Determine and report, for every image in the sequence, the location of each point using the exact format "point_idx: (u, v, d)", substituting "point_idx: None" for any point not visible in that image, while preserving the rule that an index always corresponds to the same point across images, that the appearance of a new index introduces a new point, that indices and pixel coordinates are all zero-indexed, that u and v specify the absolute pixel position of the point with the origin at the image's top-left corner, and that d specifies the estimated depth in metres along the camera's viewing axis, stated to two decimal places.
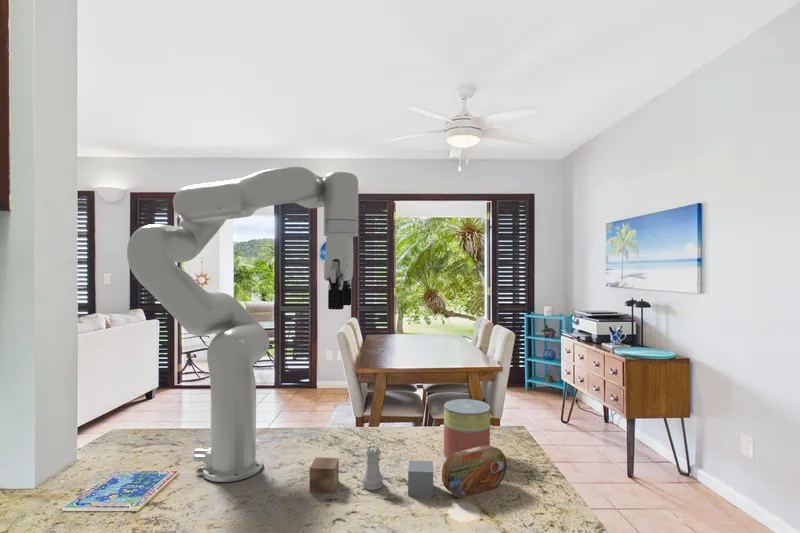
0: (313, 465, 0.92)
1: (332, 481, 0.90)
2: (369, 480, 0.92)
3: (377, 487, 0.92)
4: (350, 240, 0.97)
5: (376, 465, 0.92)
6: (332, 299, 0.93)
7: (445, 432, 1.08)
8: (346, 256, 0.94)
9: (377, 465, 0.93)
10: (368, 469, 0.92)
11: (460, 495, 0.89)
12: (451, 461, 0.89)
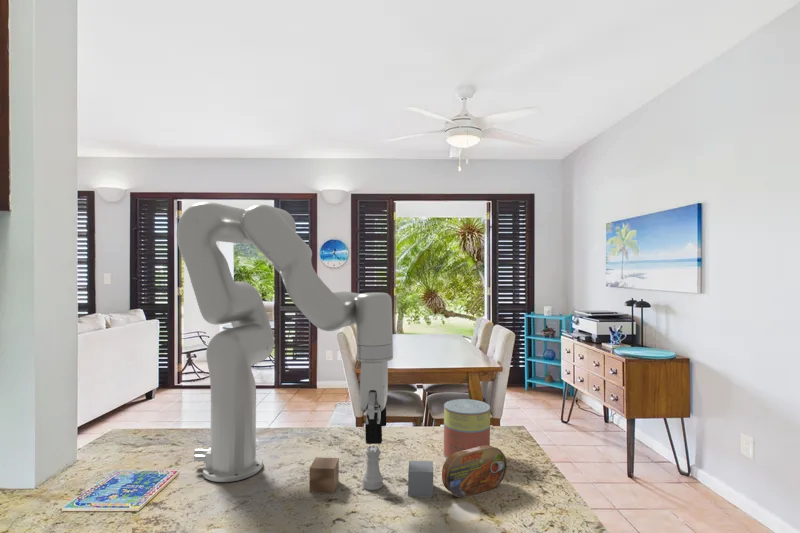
0: (313, 465, 0.92)
1: (332, 481, 0.90)
2: (369, 480, 0.92)
3: (377, 487, 0.92)
4: (386, 365, 0.91)
5: (376, 465, 0.92)
6: (370, 434, 0.87)
7: (445, 432, 1.08)
8: (383, 385, 0.89)
9: (377, 465, 0.93)
10: (368, 469, 0.92)
11: (460, 495, 0.89)
12: (451, 461, 0.89)
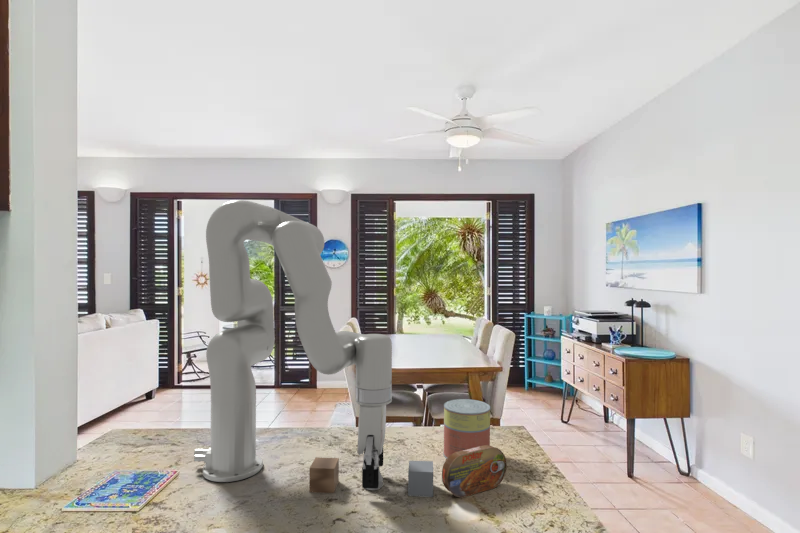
0: (313, 465, 0.92)
1: (332, 481, 0.90)
2: None
3: None
4: (384, 408, 0.91)
5: None
6: (367, 479, 0.88)
7: (445, 432, 1.08)
8: (381, 430, 0.89)
9: (377, 465, 0.93)
10: None
11: (460, 495, 0.89)
12: (451, 461, 0.89)
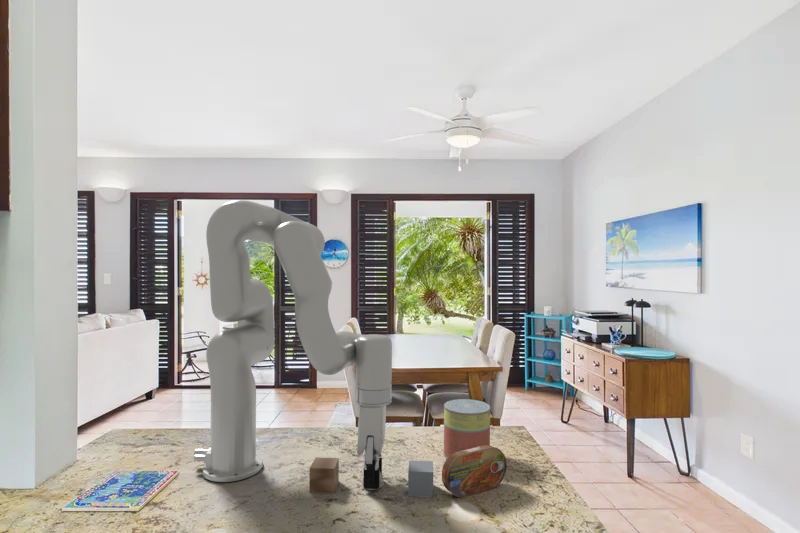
0: (313, 465, 0.92)
1: (332, 481, 0.90)
2: None
3: None
4: (384, 409, 0.92)
5: None
6: (368, 479, 0.90)
7: (445, 432, 1.08)
8: (380, 431, 0.89)
9: None
10: None
11: (460, 495, 0.89)
12: (451, 461, 0.89)
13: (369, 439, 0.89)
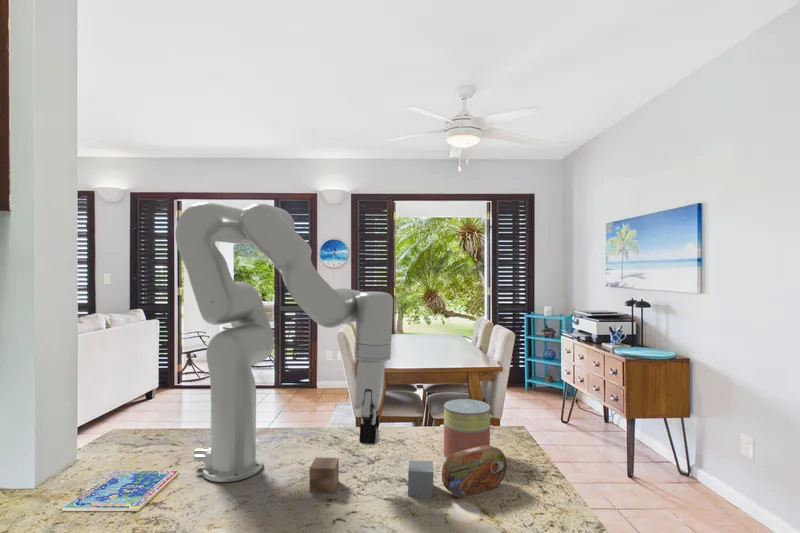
0: (313, 465, 0.92)
1: (332, 481, 0.90)
2: None
3: None
4: (383, 365, 0.92)
5: None
6: (364, 434, 0.90)
7: (445, 432, 1.08)
8: (379, 385, 0.89)
9: None
10: None
11: (460, 495, 0.89)
12: (451, 461, 0.89)
13: (367, 393, 0.89)
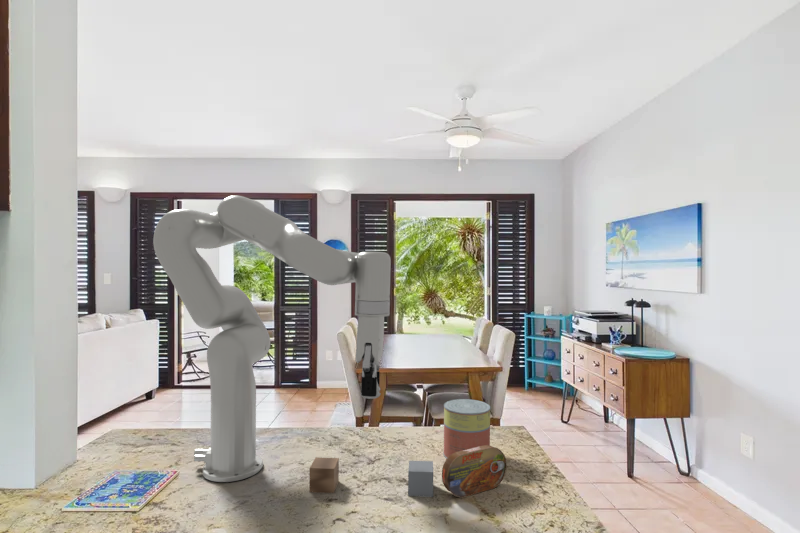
0: (313, 465, 0.92)
1: (332, 481, 0.90)
2: None
3: None
4: (382, 321, 0.95)
5: None
6: (365, 386, 0.94)
7: (445, 432, 1.08)
8: (378, 339, 0.93)
9: None
10: None
11: (460, 495, 0.89)
12: (451, 461, 0.89)
13: (367, 347, 0.92)
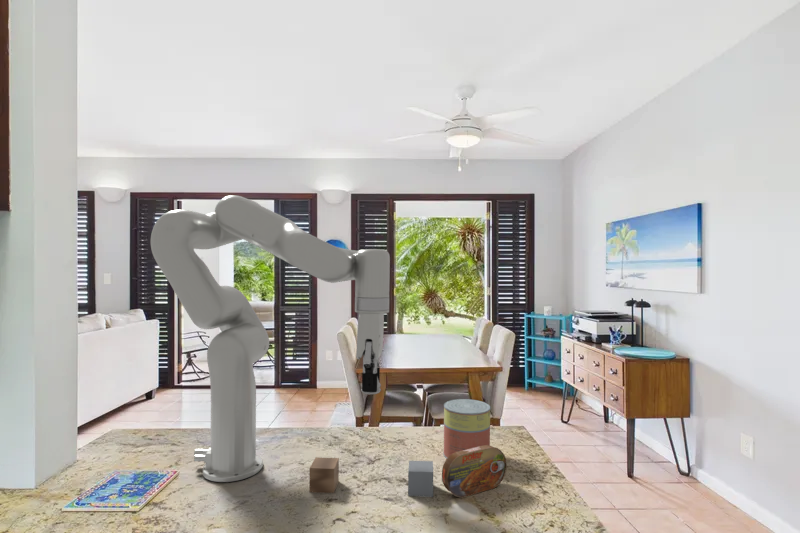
0: (313, 465, 0.92)
1: (332, 481, 0.90)
2: None
3: None
4: (382, 317, 0.97)
5: None
6: (366, 382, 0.95)
7: (445, 432, 1.08)
8: (378, 335, 0.94)
9: None
10: None
11: (460, 495, 0.89)
12: (451, 461, 0.89)
13: (367, 343, 0.94)
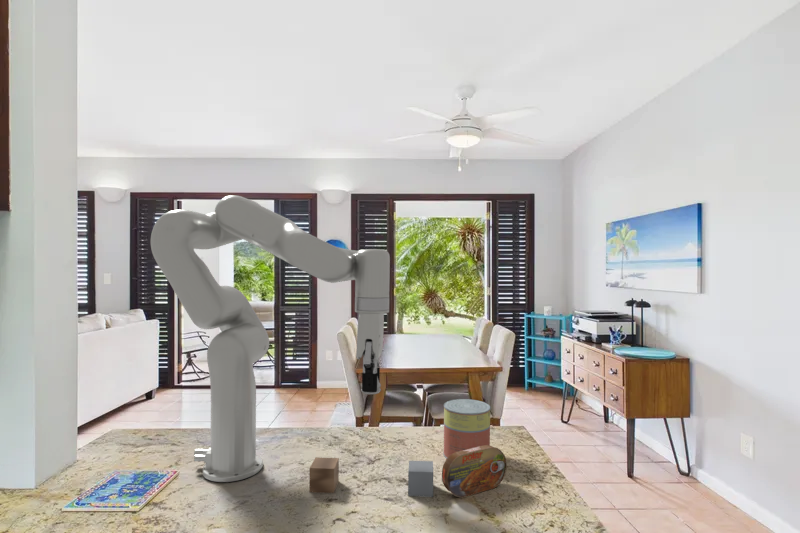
0: (313, 465, 0.92)
1: (332, 481, 0.90)
2: None
3: None
4: (382, 317, 0.97)
5: None
6: (366, 382, 0.95)
7: (445, 432, 1.08)
8: (378, 335, 0.94)
9: None
10: None
11: (460, 495, 0.89)
12: (451, 461, 0.89)
13: (367, 343, 0.94)
